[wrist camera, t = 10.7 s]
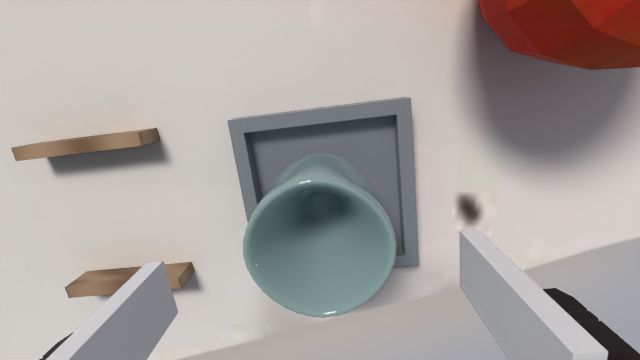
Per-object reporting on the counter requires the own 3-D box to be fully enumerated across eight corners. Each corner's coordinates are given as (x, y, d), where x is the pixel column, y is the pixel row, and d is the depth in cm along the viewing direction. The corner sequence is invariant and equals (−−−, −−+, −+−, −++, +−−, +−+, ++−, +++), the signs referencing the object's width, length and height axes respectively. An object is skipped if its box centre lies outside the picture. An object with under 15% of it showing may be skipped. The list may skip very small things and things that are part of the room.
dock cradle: (264, 265, 29) (258, 278, 27) (235, 118, 25) (227, 120, 23) (412, 253, 28) (418, 265, 26) (404, 97, 24) (410, 97, 22)
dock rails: (90, 280, 30) (68, 297, 27) (40, 142, 26) (10, 147, 24) (193, 272, 29) (180, 288, 27) (156, 128, 26) (138, 132, 23)
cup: (319, 122, 24) (309, 145, 15) (393, 187, 25) (429, 248, 16) (257, 195, 26) (212, 258, 17) (329, 253, 27) (326, 343, 18)
